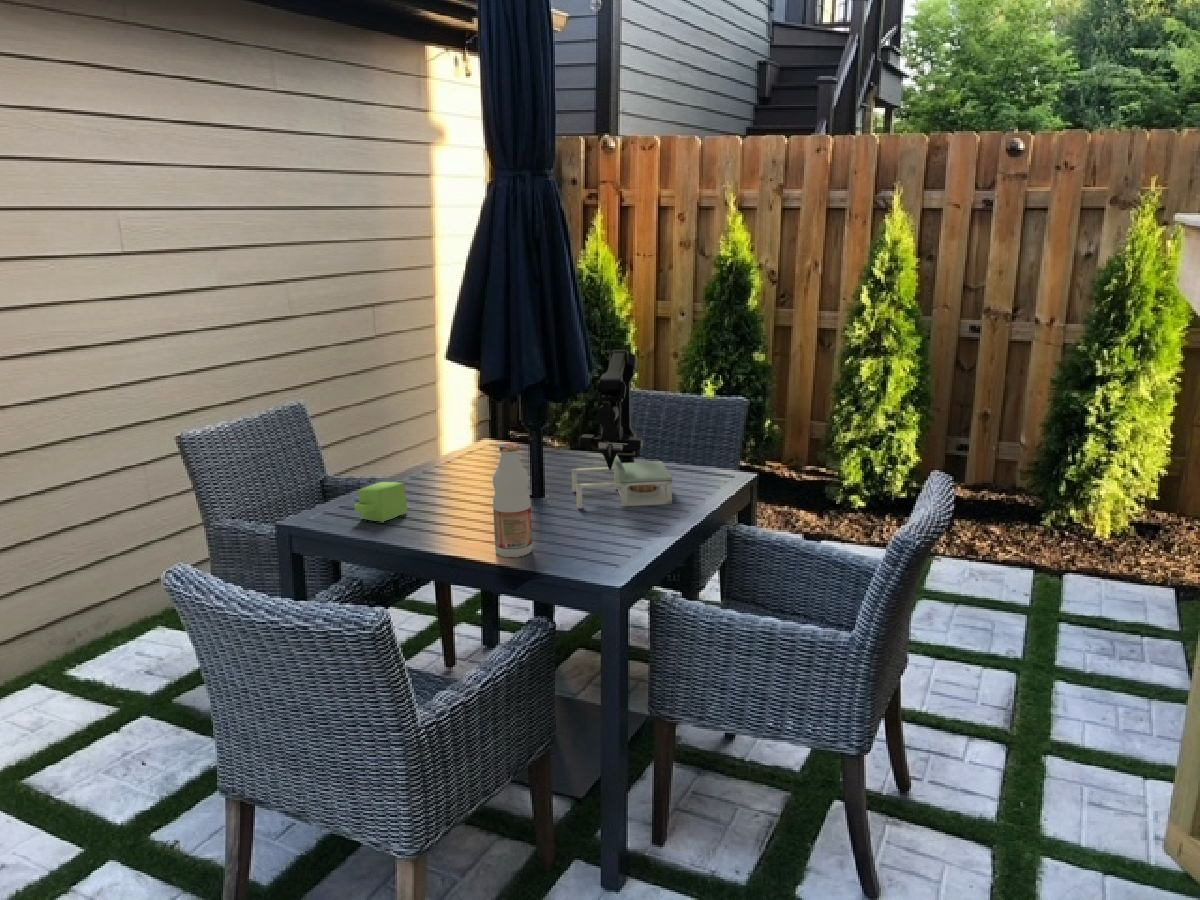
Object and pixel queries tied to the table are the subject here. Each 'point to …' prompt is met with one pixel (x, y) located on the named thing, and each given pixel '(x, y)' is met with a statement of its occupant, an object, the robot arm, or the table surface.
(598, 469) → the housing
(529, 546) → the fruit juice
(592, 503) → the table surface
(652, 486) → the gear hub
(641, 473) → the sliding lid
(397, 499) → the gearbox
